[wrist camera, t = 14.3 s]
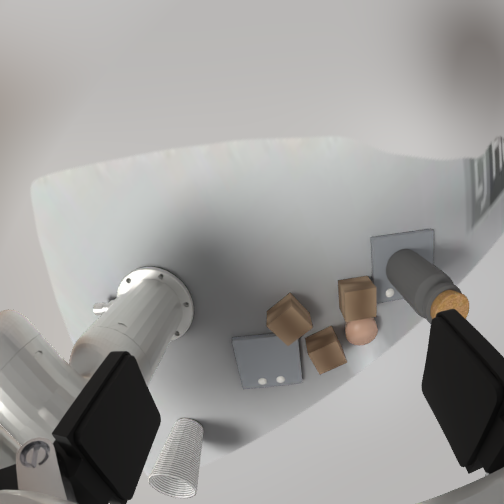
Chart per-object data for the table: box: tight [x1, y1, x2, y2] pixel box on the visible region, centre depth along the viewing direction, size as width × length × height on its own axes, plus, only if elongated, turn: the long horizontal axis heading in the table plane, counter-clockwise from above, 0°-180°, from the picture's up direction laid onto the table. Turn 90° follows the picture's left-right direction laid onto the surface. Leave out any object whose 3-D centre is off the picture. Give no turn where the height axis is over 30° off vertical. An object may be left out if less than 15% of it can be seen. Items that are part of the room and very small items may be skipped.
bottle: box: [386, 249, 469, 324], centre depth 35 cm, size 6×6×15 cm
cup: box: [148, 418, 204, 498], centre depth 47 cm, size 8×8×16 cm
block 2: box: [305, 326, 347, 374], centre depth 45 cm, size 4×4×4 cm
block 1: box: [267, 293, 313, 346], centre depth 44 cm, size 4×4×4 cm
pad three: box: [371, 229, 434, 304], centre depth 42 cm, size 10×10×1 cm
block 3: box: [338, 276, 376, 322], centre depth 42 cm, size 4×4×4 cm
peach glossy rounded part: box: [345, 317, 378, 345], centre depth 45 cm, size 5×5×2 cm
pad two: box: [232, 333, 302, 389], centre depth 48 cm, size 10×10×1 cm
